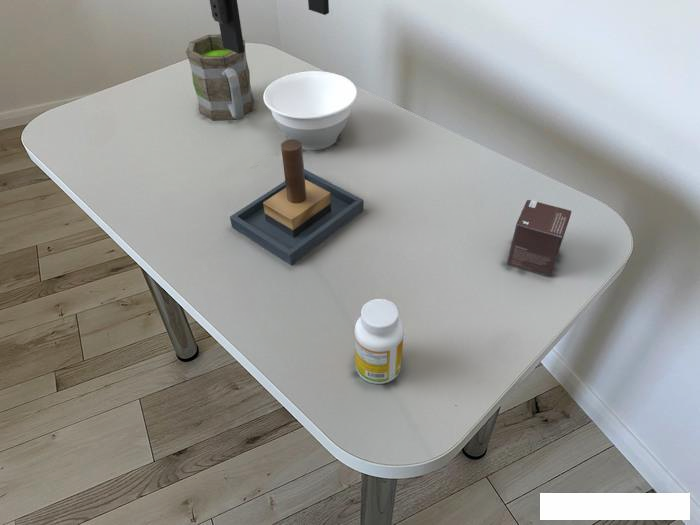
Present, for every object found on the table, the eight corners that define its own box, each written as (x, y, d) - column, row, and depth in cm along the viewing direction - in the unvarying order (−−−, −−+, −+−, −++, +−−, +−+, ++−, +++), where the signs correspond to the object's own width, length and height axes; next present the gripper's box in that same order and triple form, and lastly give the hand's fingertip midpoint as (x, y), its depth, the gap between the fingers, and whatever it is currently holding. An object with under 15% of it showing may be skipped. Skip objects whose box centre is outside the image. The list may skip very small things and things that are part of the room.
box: (549, 278, 77) (562, 238, 72) (505, 264, 79) (515, 224, 74) (559, 250, 81) (572, 210, 76) (517, 238, 83) (527, 197, 78)
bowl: (301, 105, 111) (298, 63, 105) (374, 127, 105) (374, 83, 99) (250, 145, 101) (243, 101, 95) (327, 172, 95) (324, 126, 89)
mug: (192, 100, 113) (179, 40, 104) (245, 88, 116) (236, 29, 108) (214, 139, 103) (200, 76, 94) (271, 125, 106) (263, 63, 97)
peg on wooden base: (294, 238, 83) (285, 166, 74) (265, 220, 86) (254, 149, 77) (331, 210, 87) (327, 139, 78) (303, 195, 90) (296, 125, 81)
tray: (291, 265, 80) (289, 254, 78) (231, 227, 86) (229, 216, 84) (363, 210, 88) (363, 199, 86) (304, 179, 94) (303, 168, 92)
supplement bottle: (383, 340, 70) (386, 286, 63) (410, 371, 67) (415, 317, 60) (346, 360, 68) (344, 306, 61) (372, 393, 65) (373, 340, 58)
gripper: (318, -221, 60) (327, -10, 75) (109, -193, 47) (170, 57, 62) (374, -217, 56) (372, 4, 71) (164, -185, 43) (215, 78, 58)
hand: (278, 29), depth 67 cm, fingers open, 13 cm apart
